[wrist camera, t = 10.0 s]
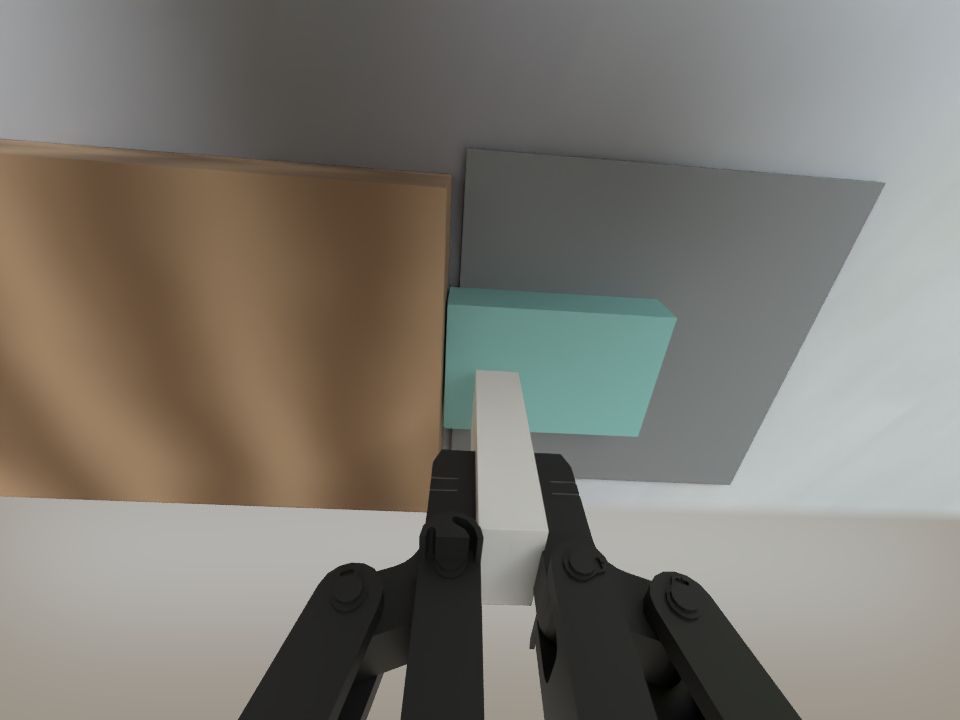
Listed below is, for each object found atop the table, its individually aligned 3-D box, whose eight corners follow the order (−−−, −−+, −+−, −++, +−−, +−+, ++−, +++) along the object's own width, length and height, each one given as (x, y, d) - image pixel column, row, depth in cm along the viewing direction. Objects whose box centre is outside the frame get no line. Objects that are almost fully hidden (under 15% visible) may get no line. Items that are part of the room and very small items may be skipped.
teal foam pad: (445, 402, 20) (443, 428, 19) (449, 286, 17) (447, 304, 16) (624, 411, 21) (637, 436, 19) (657, 299, 18) (677, 317, 16)
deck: (58, 436, 22) (-22, 495, 18) (-109, 130, 15) (-290, 131, 11) (441, 453, 23) (436, 512, 19) (452, 174, 16) (446, 187, 12)
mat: (450, 467, 23) (450, 473, 23) (467, 147, 15) (467, 148, 15) (726, 479, 24) (729, 484, 24) (876, 181, 16) (885, 182, 16)
